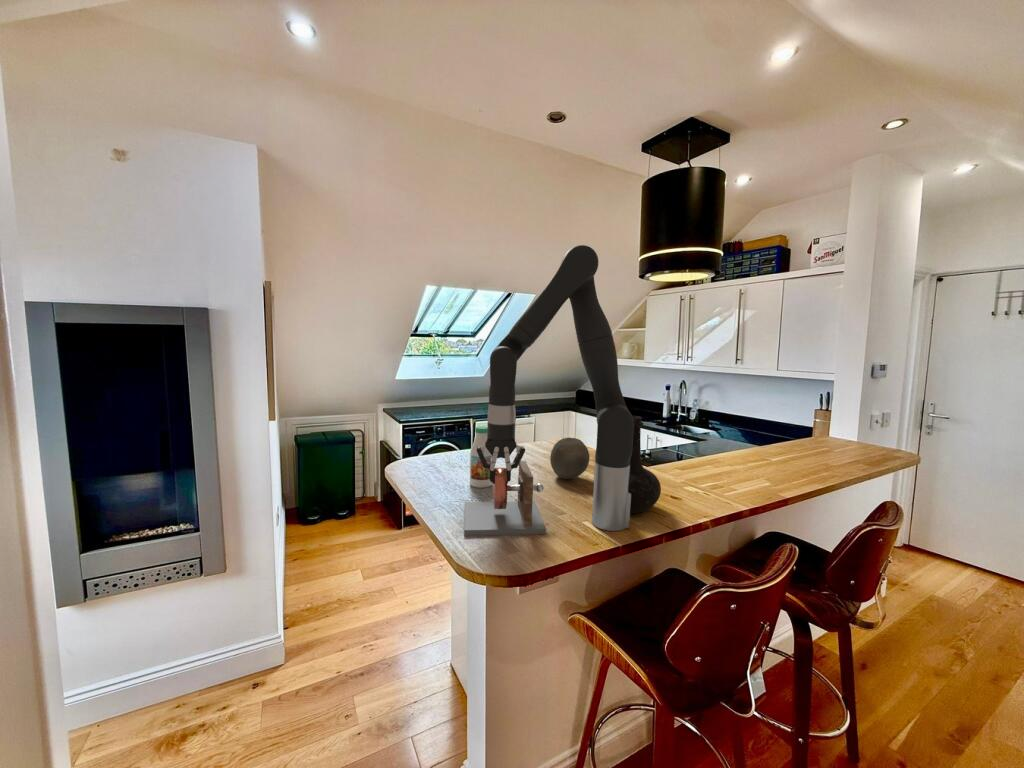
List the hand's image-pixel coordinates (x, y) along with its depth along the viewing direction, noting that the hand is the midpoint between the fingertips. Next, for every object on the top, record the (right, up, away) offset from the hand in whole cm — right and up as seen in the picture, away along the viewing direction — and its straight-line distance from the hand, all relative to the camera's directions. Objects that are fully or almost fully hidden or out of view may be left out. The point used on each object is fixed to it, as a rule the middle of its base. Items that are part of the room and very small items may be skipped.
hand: (499, 482), depth 113 cm
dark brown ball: (+24, -8, +37) cm, 45 cm away
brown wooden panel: (+6, -9, +2) cm, 11 cm away
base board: (+1, -11, +1) cm, 11 cm away
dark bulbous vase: (+39, -11, +12) cm, 42 cm away
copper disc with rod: (+5, -7, +1) cm, 9 cm away
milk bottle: (-7, -8, +28) cm, 30 cm away
